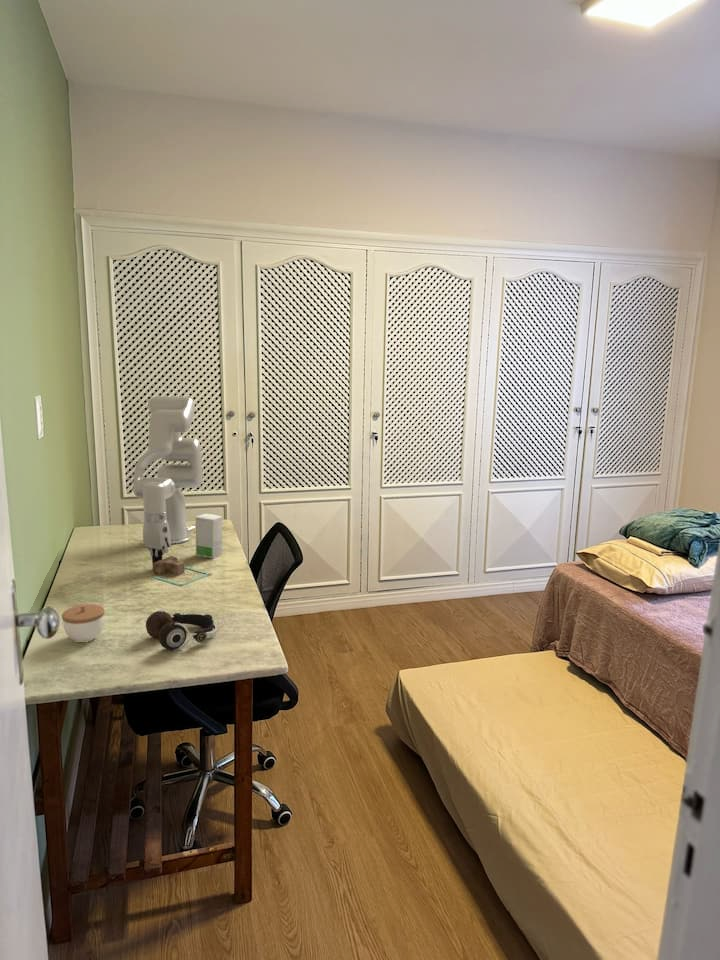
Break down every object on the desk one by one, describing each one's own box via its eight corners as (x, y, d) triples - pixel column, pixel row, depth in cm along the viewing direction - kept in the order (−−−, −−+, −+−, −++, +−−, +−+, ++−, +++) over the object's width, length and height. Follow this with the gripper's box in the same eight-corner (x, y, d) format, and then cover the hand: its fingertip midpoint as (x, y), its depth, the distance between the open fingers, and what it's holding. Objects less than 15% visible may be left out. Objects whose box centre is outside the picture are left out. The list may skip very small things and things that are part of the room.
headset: (141, 607, 180) (206, 600, 193) (138, 633, 181) (203, 625, 194) (166, 628, 167) (235, 619, 180) (163, 656, 168) (231, 646, 181)
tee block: (153, 573, 229) (152, 563, 228) (171, 566, 237) (170, 556, 236) (172, 578, 225) (172, 567, 224) (190, 570, 233) (189, 560, 232)
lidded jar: (114, 632, 183) (111, 600, 181) (90, 649, 172) (87, 616, 171) (80, 627, 185) (78, 596, 183) (55, 644, 175) (52, 611, 173)
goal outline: (183, 566, 237) (183, 566, 237) (211, 574, 229) (211, 573, 229) (153, 577, 225) (153, 577, 225) (181, 586, 218) (181, 585, 218)
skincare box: (195, 556, 249) (193, 516, 245) (205, 551, 255) (204, 512, 251) (213, 559, 246) (212, 519, 242) (223, 554, 252) (222, 515, 248)
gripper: (177, 518, 229) (180, 567, 233) (149, 511, 237) (152, 559, 240) (161, 522, 223) (163, 573, 226) (132, 515, 231) (135, 564, 234)
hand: (157, 566), depth 233 cm, fingers closed
